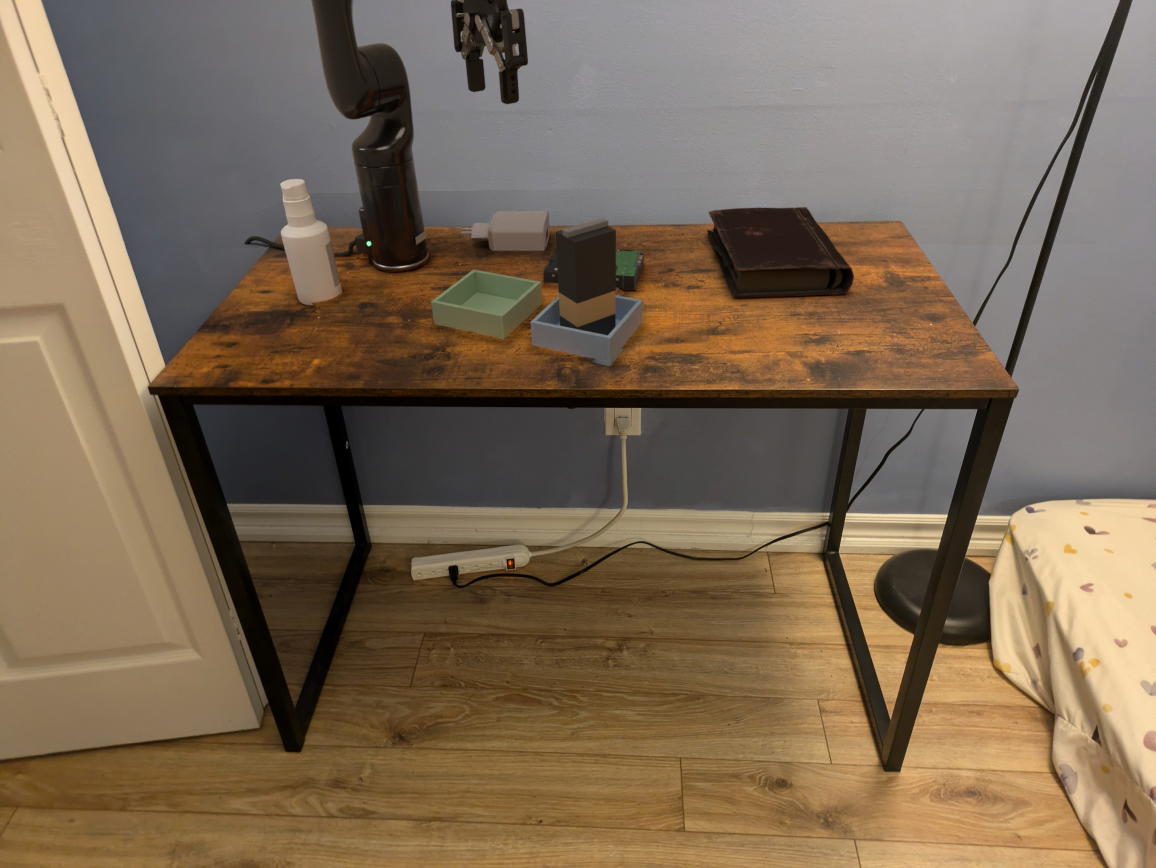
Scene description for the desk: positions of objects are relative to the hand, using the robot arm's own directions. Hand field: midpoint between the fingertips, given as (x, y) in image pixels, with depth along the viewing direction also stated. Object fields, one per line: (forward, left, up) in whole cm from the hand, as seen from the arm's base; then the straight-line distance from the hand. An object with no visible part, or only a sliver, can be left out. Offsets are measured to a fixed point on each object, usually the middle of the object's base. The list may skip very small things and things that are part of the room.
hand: (493, 96), depth 97 cm
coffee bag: (+15, -4, -29) cm, 33 cm away
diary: (+32, +30, -30) cm, 53 cm away
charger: (-13, +21, -30) cm, 39 cm away
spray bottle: (-30, -8, -30) cm, 43 cm away
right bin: (+15, -4, -30) cm, 34 cm away
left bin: (-1, -4, -30) cm, 30 cm away
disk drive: (+7, +15, -30) cm, 35 cm away
